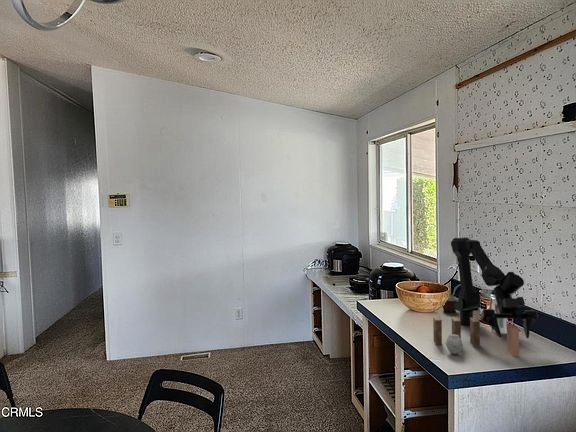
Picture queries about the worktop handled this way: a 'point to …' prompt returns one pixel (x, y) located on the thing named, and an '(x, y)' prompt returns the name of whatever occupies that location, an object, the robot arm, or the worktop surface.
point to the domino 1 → (437, 330)
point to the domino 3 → (475, 332)
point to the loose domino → (513, 340)
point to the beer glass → (500, 321)
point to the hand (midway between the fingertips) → (514, 337)
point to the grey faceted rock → (454, 344)
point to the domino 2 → (456, 326)
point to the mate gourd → (450, 303)
